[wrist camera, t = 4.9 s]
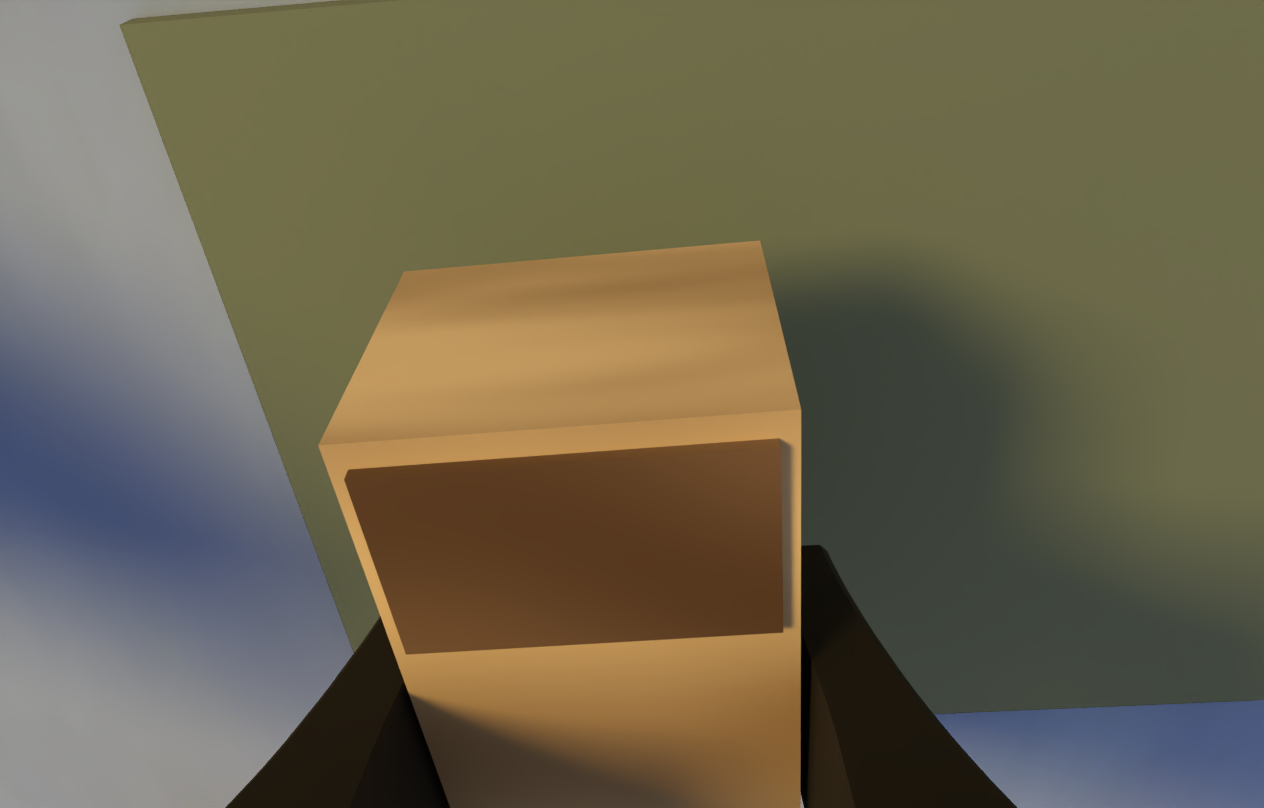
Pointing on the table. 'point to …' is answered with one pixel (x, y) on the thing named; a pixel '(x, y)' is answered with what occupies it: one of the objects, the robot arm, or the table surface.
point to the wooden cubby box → (586, 526)
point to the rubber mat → (816, 276)
